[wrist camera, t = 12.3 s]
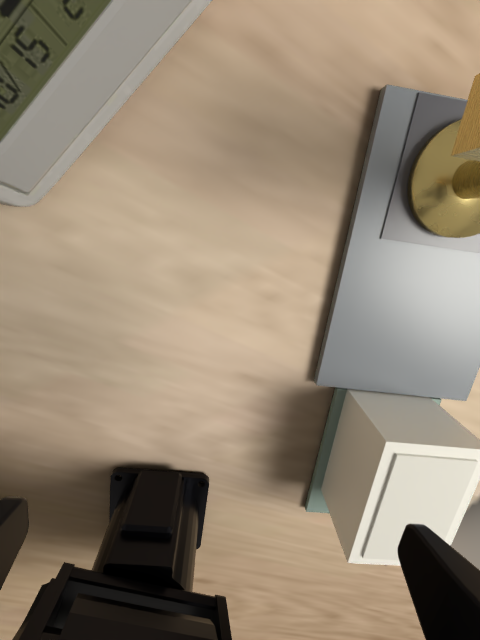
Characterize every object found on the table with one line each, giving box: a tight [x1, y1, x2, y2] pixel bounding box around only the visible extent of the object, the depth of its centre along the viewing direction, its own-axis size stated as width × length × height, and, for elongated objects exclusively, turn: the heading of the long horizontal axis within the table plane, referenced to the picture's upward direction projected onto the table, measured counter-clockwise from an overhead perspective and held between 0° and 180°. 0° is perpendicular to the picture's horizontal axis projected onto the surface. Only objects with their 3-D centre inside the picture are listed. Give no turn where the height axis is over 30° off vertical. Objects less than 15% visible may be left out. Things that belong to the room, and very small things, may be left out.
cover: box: [321, 389, 480, 566], centre depth 19 cm, size 8×6×5 cm
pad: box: [305, 387, 441, 513], centre depth 22 cm, size 10×7×1 cm
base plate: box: [314, 85, 480, 401], centre depth 18 cm, size 16×10×1 cm, turn 172°
